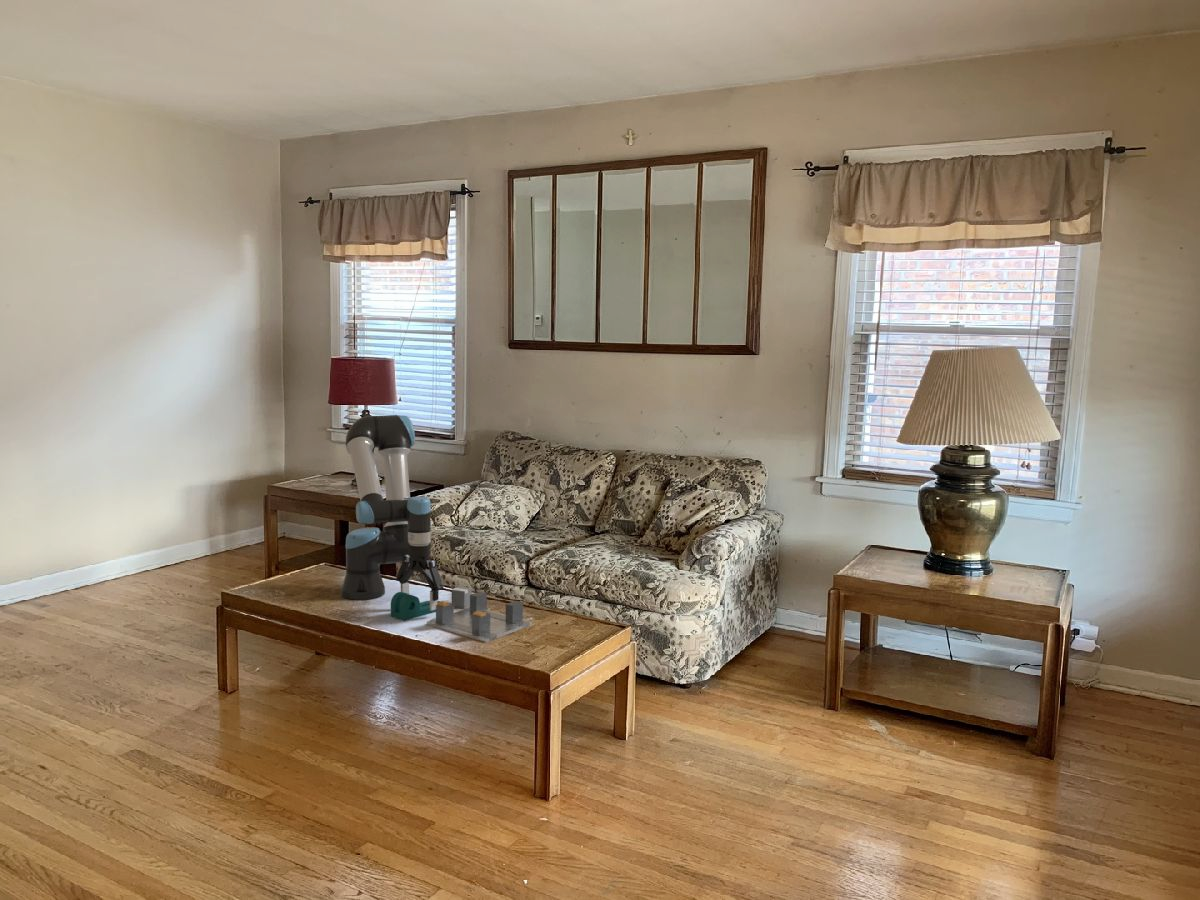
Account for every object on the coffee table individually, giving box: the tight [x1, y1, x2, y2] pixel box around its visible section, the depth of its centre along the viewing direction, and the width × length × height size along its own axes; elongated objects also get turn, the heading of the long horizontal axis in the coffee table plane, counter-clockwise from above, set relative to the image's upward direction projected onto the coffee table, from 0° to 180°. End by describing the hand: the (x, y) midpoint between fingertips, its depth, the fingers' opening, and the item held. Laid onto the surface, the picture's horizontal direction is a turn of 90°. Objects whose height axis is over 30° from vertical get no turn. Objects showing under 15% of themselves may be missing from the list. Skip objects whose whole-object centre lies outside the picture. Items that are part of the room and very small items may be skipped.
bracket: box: [390, 591, 441, 622], centre depth 307 cm, size 18×7×8 cm, turn 140°
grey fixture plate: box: [426, 591, 533, 643], centre depth 296 cm, size 26×22×8 cm
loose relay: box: [451, 586, 473, 610], centre depth 316 cm, size 5×5×6 cm
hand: (419, 606), depth 307 cm, fingers open, 13 cm apart
